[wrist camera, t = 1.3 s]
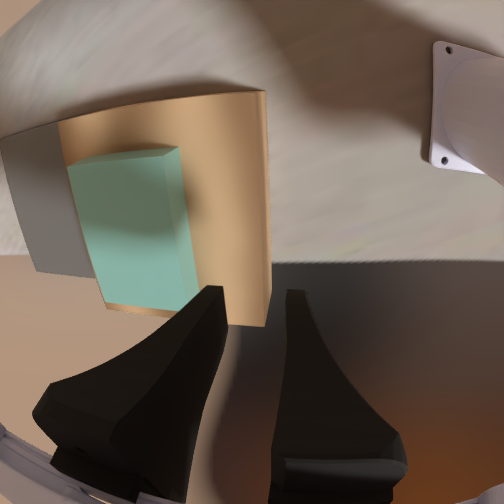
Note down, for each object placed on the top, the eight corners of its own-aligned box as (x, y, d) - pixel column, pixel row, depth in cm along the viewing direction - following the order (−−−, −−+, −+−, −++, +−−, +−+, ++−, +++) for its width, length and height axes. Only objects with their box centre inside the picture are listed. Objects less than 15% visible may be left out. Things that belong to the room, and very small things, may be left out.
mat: (94, 111, 19) (91, 112, 19) (129, 279, 26) (127, 281, 26) (1, 139, 21) (-2, 140, 21) (38, 269, 28) (36, 271, 28)
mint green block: (178, 146, 15) (162, 156, 14) (199, 291, 20) (189, 312, 18) (87, 156, 16) (66, 166, 15) (119, 284, 21) (105, 302, 19)
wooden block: (265, 90, 17) (254, 92, 14) (271, 290, 24) (264, 326, 20) (94, 111, 19) (57, 122, 15) (129, 279, 26) (106, 308, 22)
